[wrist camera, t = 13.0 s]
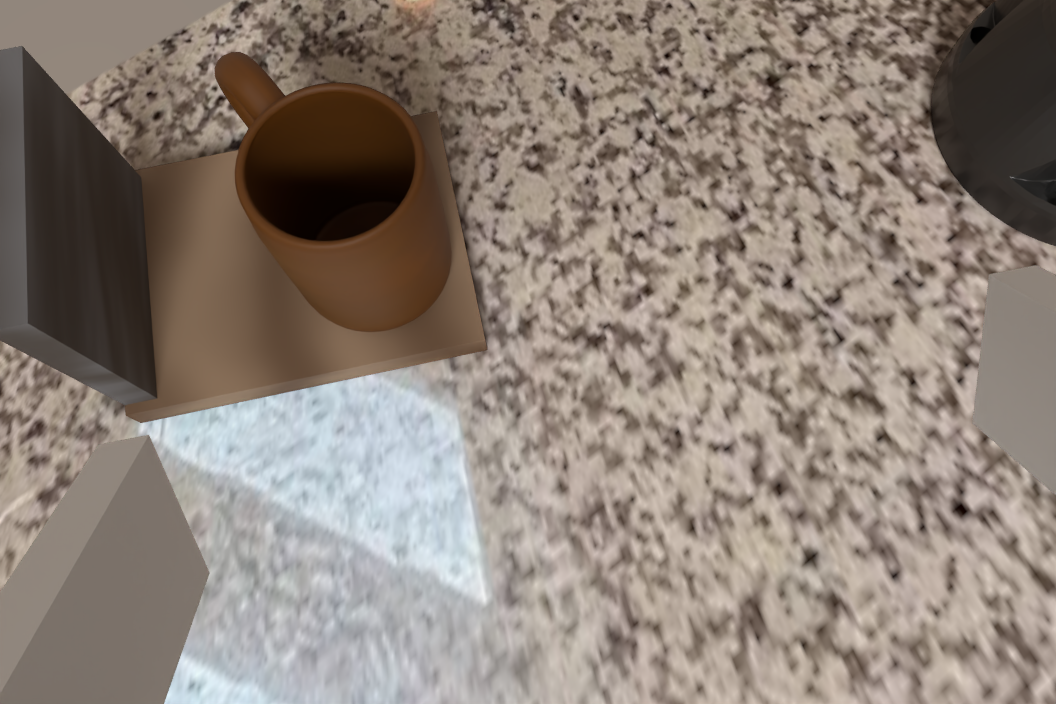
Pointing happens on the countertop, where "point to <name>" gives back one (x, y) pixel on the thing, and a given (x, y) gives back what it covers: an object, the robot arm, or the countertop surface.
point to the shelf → (175, 271)
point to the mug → (340, 196)
